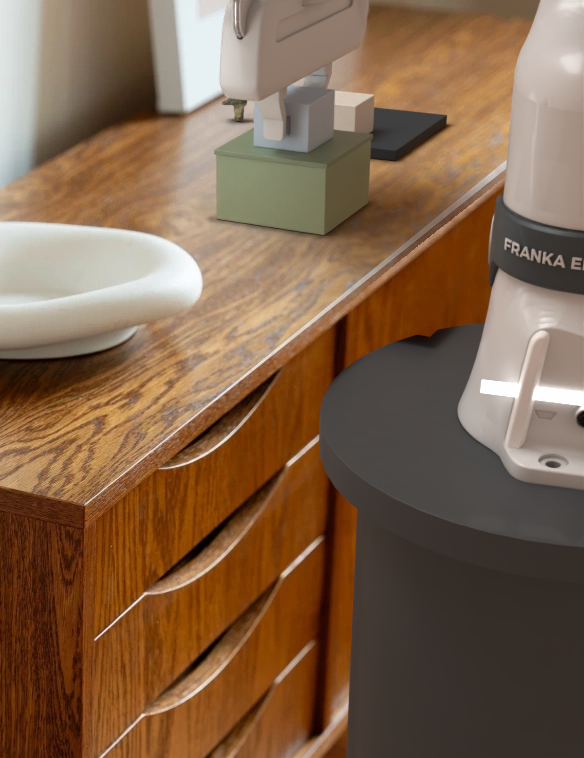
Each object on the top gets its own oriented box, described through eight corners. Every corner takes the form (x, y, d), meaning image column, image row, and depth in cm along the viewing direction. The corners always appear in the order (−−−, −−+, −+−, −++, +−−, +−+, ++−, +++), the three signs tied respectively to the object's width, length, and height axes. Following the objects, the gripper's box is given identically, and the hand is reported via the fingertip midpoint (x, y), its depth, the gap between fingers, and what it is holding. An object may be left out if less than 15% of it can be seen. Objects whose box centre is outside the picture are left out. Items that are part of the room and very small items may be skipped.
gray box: (333, 137, 125) (335, 89, 123) (308, 153, 122) (309, 104, 120) (280, 130, 128) (280, 83, 126) (253, 146, 124) (253, 98, 122)
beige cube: (373, 130, 144) (375, 94, 142) (354, 143, 141) (355, 106, 139) (330, 125, 146) (331, 90, 144) (310, 138, 143) (311, 101, 141)
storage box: (370, 202, 129) (373, 133, 126) (325, 236, 122) (327, 164, 119) (263, 188, 134) (264, 121, 131) (214, 219, 127) (213, 149, 124)
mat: (446, 124, 148) (447, 114, 147) (395, 161, 138) (396, 150, 138) (343, 113, 153) (343, 103, 153) (287, 147, 144) (287, 137, 143)
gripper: (274, -19, 108) (272, 167, 115) (385, -66, 123) (377, 102, 130) (198, -24, 112) (200, 158, 118) (315, -69, 126) (311, 95, 133)
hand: (294, 128), depth 124 cm, fingers closed on gray box, 5 cm apart
